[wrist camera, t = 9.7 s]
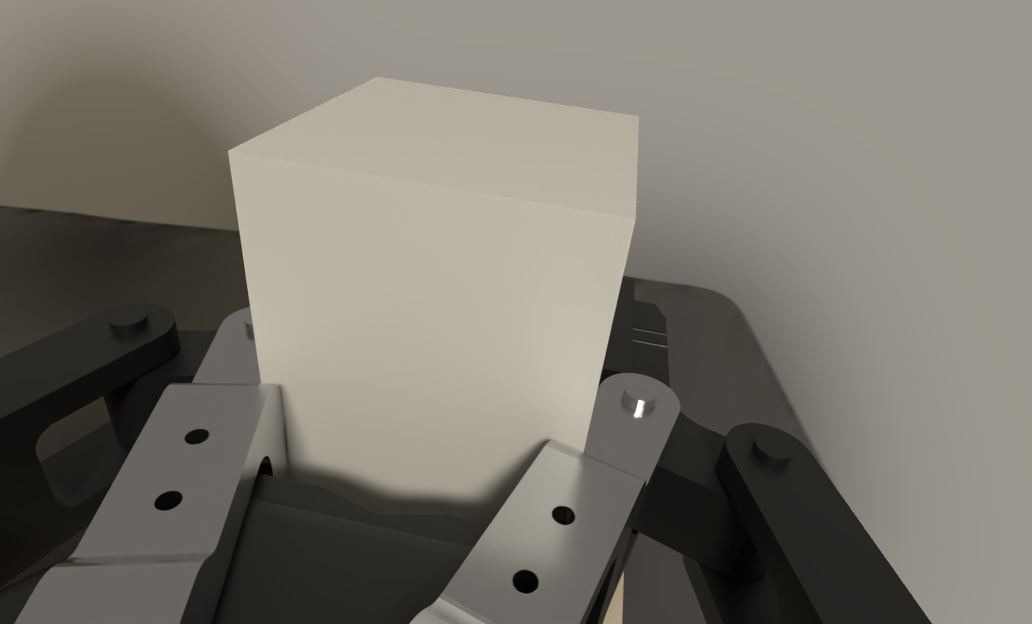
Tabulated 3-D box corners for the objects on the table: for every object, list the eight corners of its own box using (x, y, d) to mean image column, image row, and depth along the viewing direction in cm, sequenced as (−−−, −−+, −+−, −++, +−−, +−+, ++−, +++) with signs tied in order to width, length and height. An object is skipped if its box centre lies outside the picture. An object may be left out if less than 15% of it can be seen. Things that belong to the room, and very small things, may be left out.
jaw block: (304, 687, 12) (228, 151, 7) (382, 516, 16) (377, 76, 10) (518, 741, 12) (635, 218, 6) (548, 553, 16) (638, 116, 10)
